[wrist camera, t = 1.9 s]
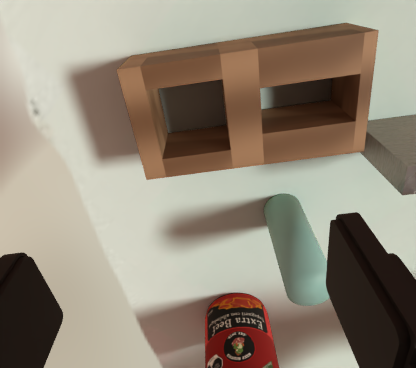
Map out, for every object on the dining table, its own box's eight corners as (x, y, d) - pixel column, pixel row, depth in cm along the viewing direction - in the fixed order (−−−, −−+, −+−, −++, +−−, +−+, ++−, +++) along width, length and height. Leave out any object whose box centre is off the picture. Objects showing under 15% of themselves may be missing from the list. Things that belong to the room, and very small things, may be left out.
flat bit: (412, 138, 28) (479, 185, 22) (354, 146, 29) (402, 195, 22) (416, 114, 27) (489, 156, 20) (356, 122, 28) (407, 166, 21)
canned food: (265, 287, 38) (287, 386, 28) (267, 330, 42) (287, 429, 33) (200, 294, 38) (200, 394, 29) (208, 335, 42) (211, 435, 33)
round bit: (300, 221, 33) (334, 302, 24) (264, 225, 33) (286, 308, 25) (300, 191, 31) (338, 268, 23) (262, 196, 31) (286, 274, 23)
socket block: (338, 126, 28) (363, 151, 23) (154, 151, 29) (146, 179, 24) (346, 22, 24) (378, 30, 19) (131, 55, 25) (116, 69, 20)
